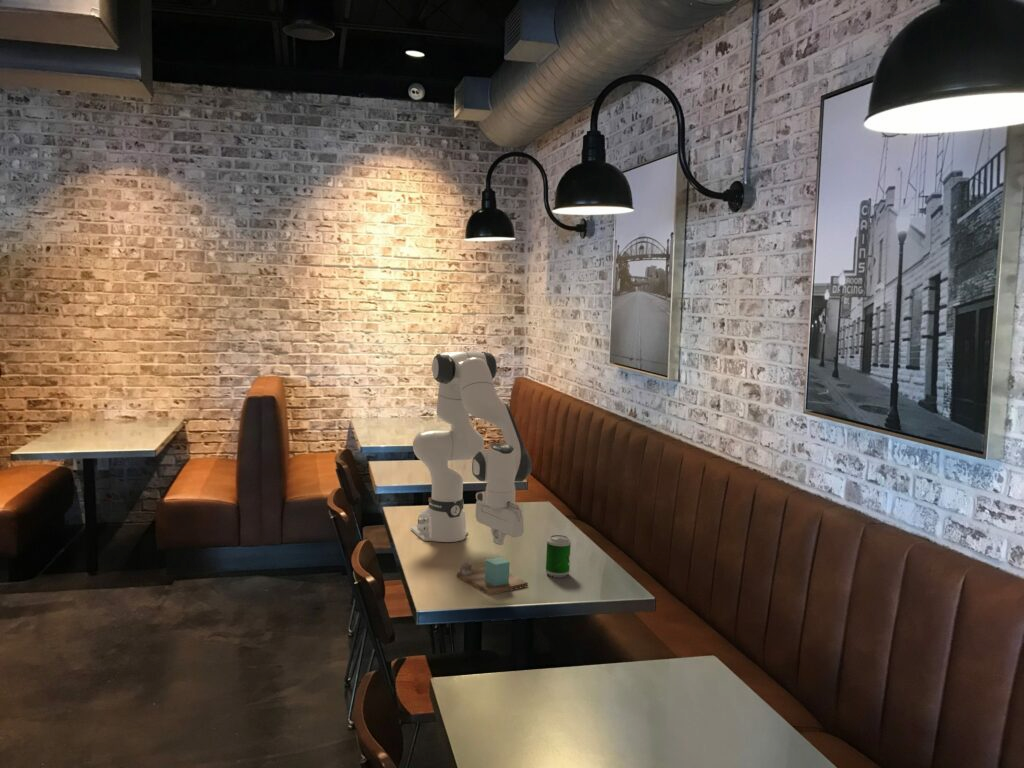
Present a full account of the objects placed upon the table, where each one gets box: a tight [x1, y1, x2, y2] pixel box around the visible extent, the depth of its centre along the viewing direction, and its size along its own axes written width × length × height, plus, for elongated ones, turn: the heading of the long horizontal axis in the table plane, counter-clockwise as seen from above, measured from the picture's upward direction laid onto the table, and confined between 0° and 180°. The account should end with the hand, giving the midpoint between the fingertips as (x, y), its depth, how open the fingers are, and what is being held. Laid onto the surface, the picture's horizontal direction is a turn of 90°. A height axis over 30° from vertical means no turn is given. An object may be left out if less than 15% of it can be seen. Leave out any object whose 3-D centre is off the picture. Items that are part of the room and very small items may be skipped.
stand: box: [456, 562, 529, 595], centre depth 247 cm, size 18×14×7 cm
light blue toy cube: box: [484, 556, 511, 586], centre depth 243 cm, size 5×5×7 cm
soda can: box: [545, 534, 572, 578], centre depth 256 cm, size 8×8×12 cm
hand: (498, 543), depth 242 cm, fingers closed
